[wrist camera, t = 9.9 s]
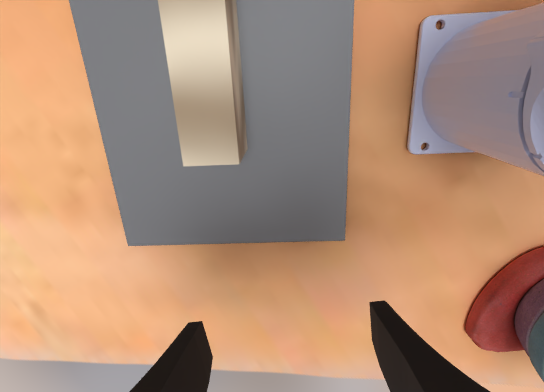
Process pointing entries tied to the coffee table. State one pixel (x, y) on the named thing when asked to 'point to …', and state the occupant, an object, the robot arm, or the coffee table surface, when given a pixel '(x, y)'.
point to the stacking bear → (512, 310)
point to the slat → (205, 79)
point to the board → (258, 115)
